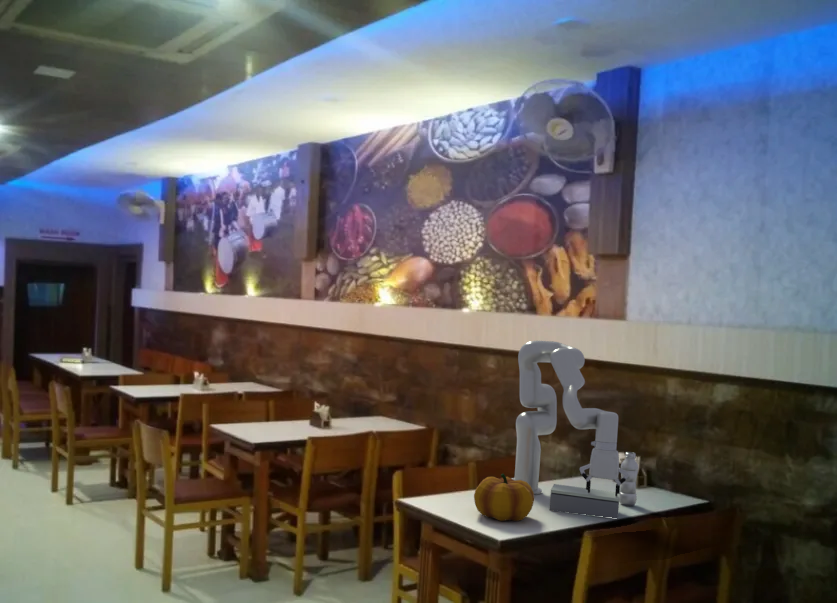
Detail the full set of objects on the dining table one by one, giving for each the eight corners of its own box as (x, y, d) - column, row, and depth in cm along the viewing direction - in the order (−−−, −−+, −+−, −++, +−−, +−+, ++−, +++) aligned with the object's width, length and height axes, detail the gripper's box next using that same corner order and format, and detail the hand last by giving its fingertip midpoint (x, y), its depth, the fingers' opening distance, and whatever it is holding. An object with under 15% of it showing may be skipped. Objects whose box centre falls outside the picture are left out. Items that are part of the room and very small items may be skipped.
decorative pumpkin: (511, 529, 252) (514, 483, 252) (459, 513, 267) (462, 470, 267) (546, 520, 267) (549, 476, 267) (495, 505, 282) (498, 464, 282)
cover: (550, 492, 281) (550, 489, 281) (553, 486, 292) (554, 483, 292) (618, 501, 274) (619, 498, 274) (619, 495, 286) (619, 492, 286)
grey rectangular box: (549, 510, 281) (550, 493, 281) (552, 502, 292) (553, 486, 292) (617, 519, 274) (618, 502, 274) (618, 511, 286) (619, 495, 286)
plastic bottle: (636, 508, 294) (640, 455, 294) (618, 505, 295) (622, 453, 295) (635, 504, 300) (639, 452, 300) (617, 501, 301) (621, 450, 301)
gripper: (580, 445, 277) (577, 493, 277) (630, 450, 273) (627, 499, 273) (581, 442, 285) (578, 488, 284) (630, 447, 280) (627, 494, 280)
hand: (602, 493), depth 279 cm, fingers open, 9 cm apart
